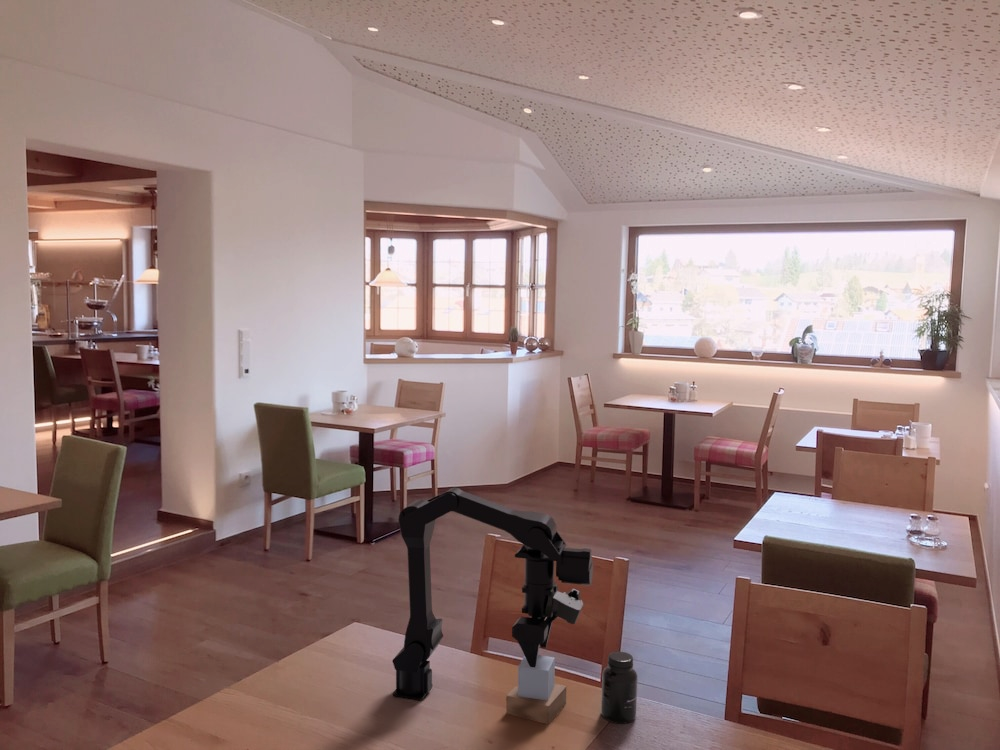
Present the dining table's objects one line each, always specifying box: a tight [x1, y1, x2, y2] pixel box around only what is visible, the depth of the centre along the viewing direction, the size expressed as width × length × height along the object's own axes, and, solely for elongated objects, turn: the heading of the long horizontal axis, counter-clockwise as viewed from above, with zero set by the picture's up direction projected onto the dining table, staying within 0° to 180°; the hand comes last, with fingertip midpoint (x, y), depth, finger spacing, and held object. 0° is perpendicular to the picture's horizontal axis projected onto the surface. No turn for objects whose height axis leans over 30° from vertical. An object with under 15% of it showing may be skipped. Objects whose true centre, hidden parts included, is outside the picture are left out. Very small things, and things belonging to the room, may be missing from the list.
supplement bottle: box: [600, 651, 639, 724], centre depth 156 cm, size 7×7×12 cm
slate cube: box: [517, 654, 556, 700], centre depth 158 cm, size 6×6×6 cm
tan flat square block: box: [505, 683, 567, 725], centre depth 159 cm, size 9×9×4 cm
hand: (538, 656), depth 158 cm, fingers open, 9 cm apart
